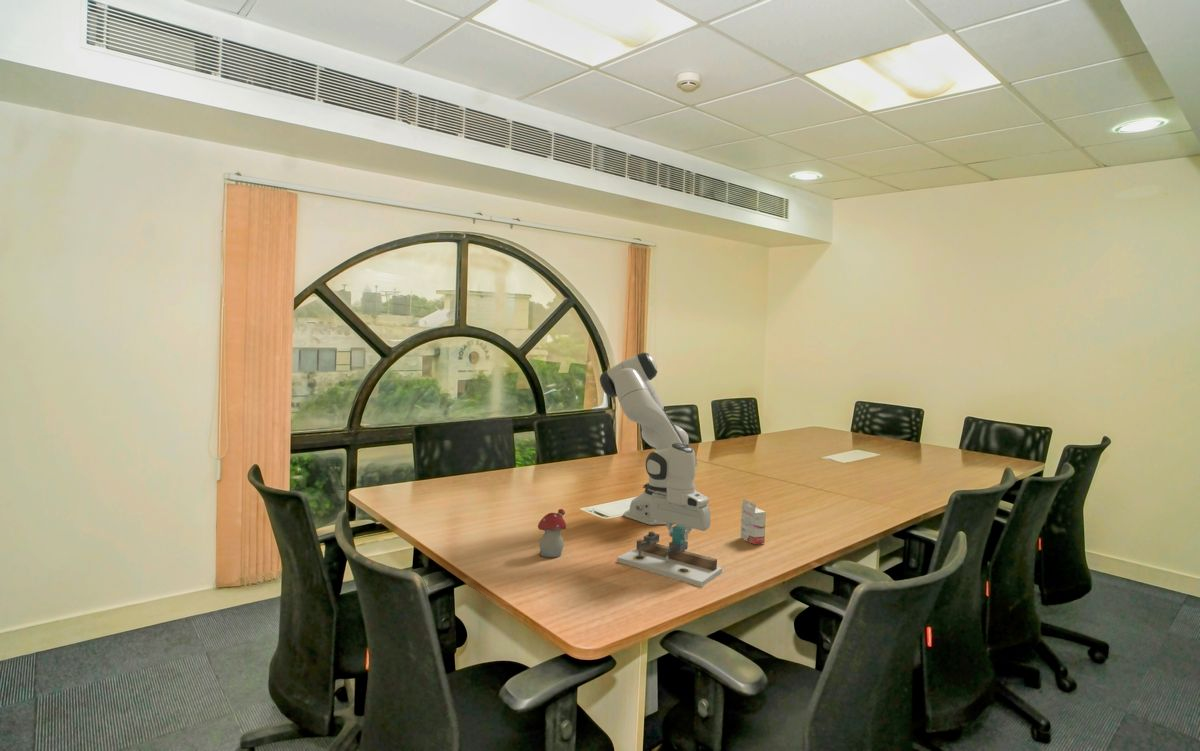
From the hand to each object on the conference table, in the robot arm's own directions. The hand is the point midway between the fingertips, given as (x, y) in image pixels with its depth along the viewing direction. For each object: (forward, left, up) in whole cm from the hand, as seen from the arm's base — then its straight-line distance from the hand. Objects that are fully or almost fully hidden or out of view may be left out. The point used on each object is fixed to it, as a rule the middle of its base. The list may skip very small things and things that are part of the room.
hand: (678, 538), depth 189 cm
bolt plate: (-1, -4, -9) cm, 9 cm away
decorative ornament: (-36, -20, -9) cm, 42 cm away
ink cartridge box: (+10, +38, -9) cm, 40 cm away
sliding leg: (0, -2, -6) cm, 6 cm away
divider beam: (-1, -2, -7) cm, 8 cm away
